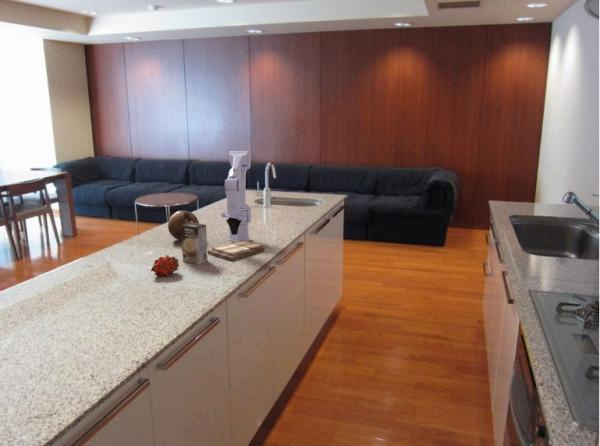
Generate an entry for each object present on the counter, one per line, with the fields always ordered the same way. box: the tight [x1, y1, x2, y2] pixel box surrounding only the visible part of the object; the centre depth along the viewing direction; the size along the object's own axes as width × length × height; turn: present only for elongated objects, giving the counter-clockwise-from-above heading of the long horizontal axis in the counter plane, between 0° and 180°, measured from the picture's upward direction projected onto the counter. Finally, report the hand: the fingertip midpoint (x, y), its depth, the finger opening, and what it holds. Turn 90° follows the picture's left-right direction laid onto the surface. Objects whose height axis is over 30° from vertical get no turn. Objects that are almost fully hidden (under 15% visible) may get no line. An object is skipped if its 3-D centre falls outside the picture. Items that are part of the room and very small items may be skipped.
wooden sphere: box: [167, 210, 200, 242], centre depth 242 cm, size 15×15×15 cm
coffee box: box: [181, 222, 208, 265], centre depth 210 cm, size 9×6×16 cm
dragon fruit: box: [150, 254, 180, 277], centre depth 194 cm, size 8×8×12 cm
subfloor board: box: [207, 240, 265, 262], centre depth 224 cm, size 16×20×3 cm
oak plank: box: [212, 242, 250, 256], centre depth 221 cm, size 14×10×1 cm
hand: (234, 234), depth 222 cm, fingers closed
